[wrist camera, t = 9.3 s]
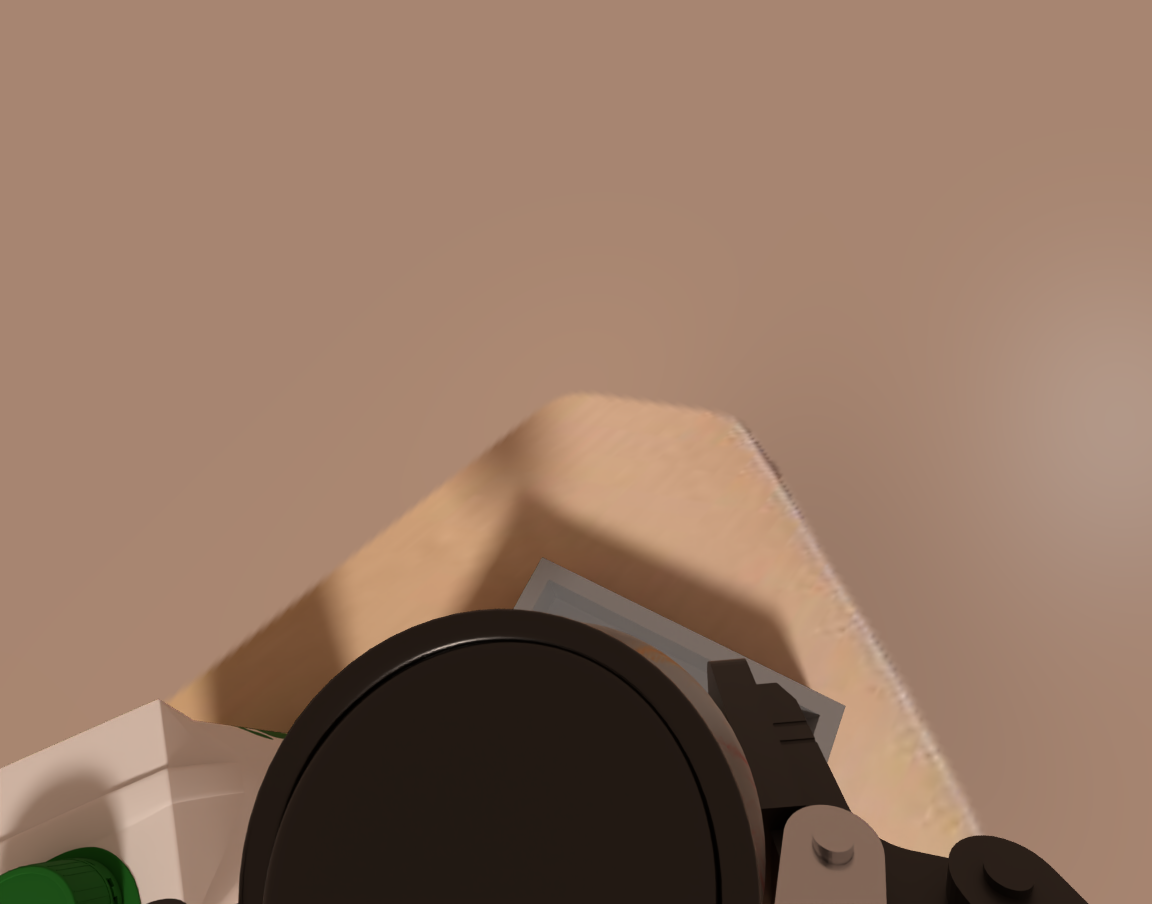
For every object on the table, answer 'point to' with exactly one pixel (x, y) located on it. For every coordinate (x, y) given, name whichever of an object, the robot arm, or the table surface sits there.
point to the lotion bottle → (507, 777)
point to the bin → (664, 638)
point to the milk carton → (132, 812)
